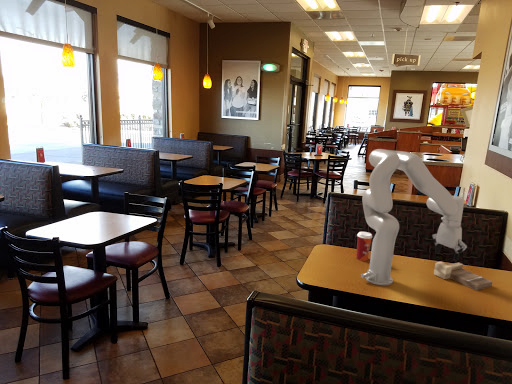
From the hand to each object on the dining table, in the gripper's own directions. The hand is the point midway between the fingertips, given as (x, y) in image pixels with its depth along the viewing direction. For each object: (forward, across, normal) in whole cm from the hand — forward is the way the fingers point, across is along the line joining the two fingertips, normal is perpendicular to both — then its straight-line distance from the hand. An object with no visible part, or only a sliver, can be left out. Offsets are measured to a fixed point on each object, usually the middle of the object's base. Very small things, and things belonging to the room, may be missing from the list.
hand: (446, 256), depth 177 cm
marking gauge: (+10, 0, +5) cm, 11 cm away
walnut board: (+11, +6, +7) cm, 14 cm away
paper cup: (+10, -31, -23) cm, 40 cm away
